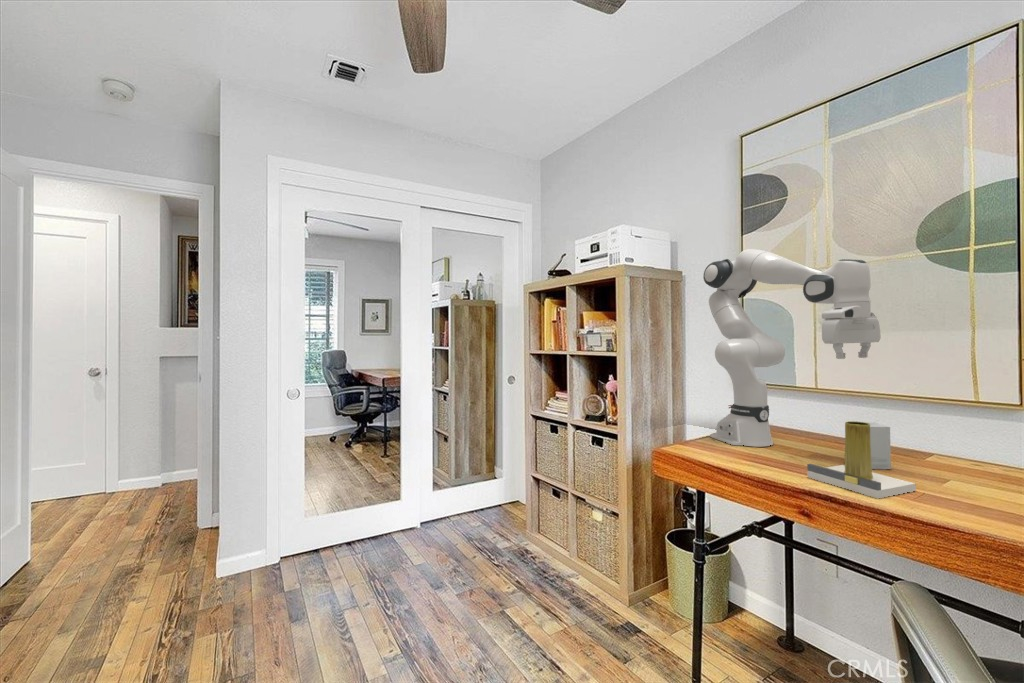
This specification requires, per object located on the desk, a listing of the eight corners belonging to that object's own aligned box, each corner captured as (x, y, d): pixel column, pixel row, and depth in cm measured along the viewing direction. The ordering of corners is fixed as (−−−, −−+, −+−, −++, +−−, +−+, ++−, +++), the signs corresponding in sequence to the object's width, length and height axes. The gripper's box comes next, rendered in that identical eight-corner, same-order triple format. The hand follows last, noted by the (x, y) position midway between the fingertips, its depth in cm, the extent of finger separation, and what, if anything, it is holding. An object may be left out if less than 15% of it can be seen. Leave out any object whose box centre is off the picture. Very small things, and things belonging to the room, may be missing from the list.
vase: (870, 474, 120) (869, 421, 120) (875, 481, 115) (874, 426, 115) (842, 471, 123) (841, 420, 123) (845, 478, 118) (844, 424, 118)
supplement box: (892, 470, 131) (891, 426, 130) (863, 469, 132) (862, 426, 132) (876, 463, 138) (876, 422, 138) (849, 462, 139) (849, 421, 139)
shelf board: (806, 477, 125) (806, 464, 125) (842, 471, 130) (842, 458, 130) (876, 499, 108) (876, 483, 108) (915, 491, 113) (915, 476, 113)
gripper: (864, 312, 141) (865, 356, 141) (817, 313, 135) (817, 358, 135) (887, 311, 135) (887, 357, 135) (838, 312, 129) (838, 360, 129)
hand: (851, 358), depth 135 cm, fingers open, 8 cm apart
